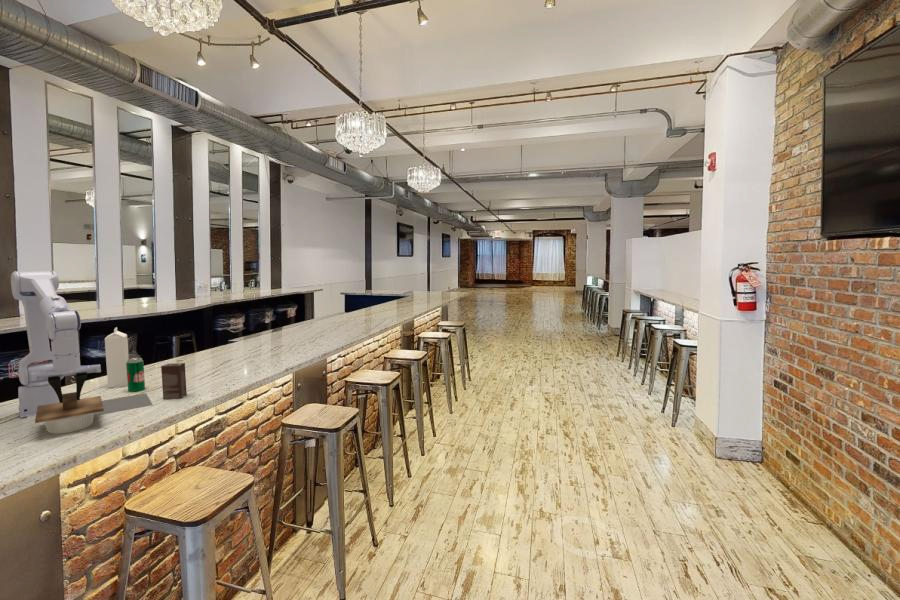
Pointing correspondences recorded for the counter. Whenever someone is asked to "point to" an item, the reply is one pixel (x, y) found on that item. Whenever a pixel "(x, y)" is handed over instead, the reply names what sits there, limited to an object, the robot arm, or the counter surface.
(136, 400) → the mat
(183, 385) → the box
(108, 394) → the counter surface
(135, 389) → the soda can
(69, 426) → the ramekin
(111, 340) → the milk
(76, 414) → the lid
